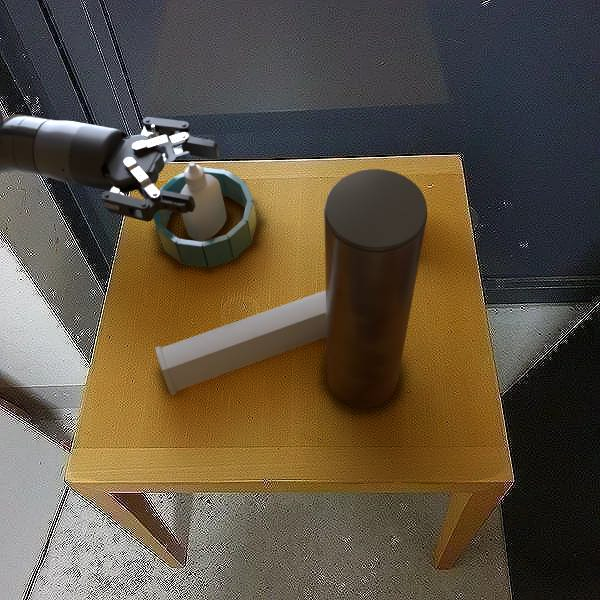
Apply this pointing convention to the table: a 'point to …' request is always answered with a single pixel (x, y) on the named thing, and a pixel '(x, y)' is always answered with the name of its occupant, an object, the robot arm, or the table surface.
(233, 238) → the teal segmented ring
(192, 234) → the eye dropper bottle
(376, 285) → the stand
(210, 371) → the tube
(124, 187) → the robot arm
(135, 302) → the table surface
